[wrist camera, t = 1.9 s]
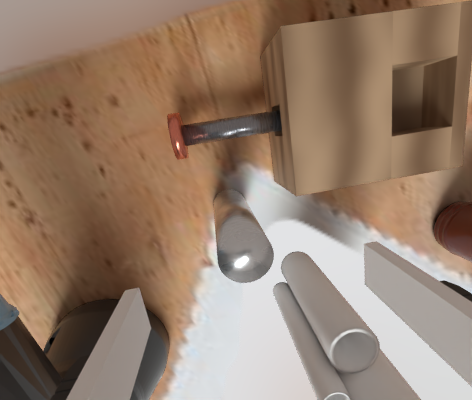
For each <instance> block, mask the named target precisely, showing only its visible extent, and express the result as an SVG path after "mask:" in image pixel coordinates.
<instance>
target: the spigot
mask: <svg viewBox="0 0 472 400" xmlns="http://www.w3.org/2000/svg"><path fill="white" fill-rule="evenodd" d="M213 207H214V219H215V231H216V243H217V256H218V264H219V267H220V270H221V271H222V273H223V274H224V275H225V276H226V277H228V278H229V279H231V280H233V281H236V282H241V283H247V282H252V281H255V280H257V279H259V278H261V277H262V276H263V275H265V274H266V273H267V272H268V270H269V269H270V267H271V265H272V262H273V257H274V253H273V248H272V246H271V244H270V242H269V240H268V239H267V237H266V235H265V233H264V232H263V230H262V228H261V226H260V225H259V223H258V221H257V220H256V218H255V216H254V214H253V213H252V211H251V209H250V207H249V206H248V204H247V202H246V201H245V199H244V197H243V196H242V194H241V193H239V192H238V191H236V190H233V189H227V190H223V191H221V192H220V193H219V194H218V195H217V196H216V197H215V199H214V204H213Z"/></svg>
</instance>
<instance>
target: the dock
mask: <svg viewBox="0 0 472 400" xmlns="http://www.w3.org/2000/svg"><path fill="white" fill-rule="evenodd" d="M260 60H261V68H262V77H263V86H264V94H265V103H266V112H271V111H277V110H280V115H281V125H282V131H276V132H269V138H270V147H271V155H272V164H273V173H274V181H275V182H276V183H278V184H279V185H281V186H282V187H284V188H285V189H287V190H288V191H290V192H291V193H292V194H294V195H295V196H301V195H306V194H312V193H317V192H323V191H328V190H334V189H339V188H345V187H350V186H356V185H362V184H367V183H373V182H378V181H384V180H389V179H395V178H400V177H406V176H412V175H417V174H423V173H428V172H434V171H439V170H445V169H450V168H456V167H461V166H462V165H463V153H464V142H465V130H466V119H467V107H468V96H469V84H470V73H471V61H472V1H465V2H458V3H450V4H443V5H435V6H428V7H420V8H413V9H405V10H398V11H390V12H383V13H375V14H368V15H360V16H353V17H345V18H338V19H330V20H323V21H315V22H308V23H300V24H293V25H285V26H280V28H279V29H278V31H277V32H276V34H275V35H274V37H273V38H272V40H271V41H270V43H269V44H268V46H267V47H266V49H265V50H264V52H263V53H262V55H261V56H260Z"/></svg>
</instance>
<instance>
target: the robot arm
mask: <svg viewBox="0 0 472 400" xmlns="http://www.w3.org/2000/svg"><path fill="white" fill-rule="evenodd" d="M364 261H365V285H366V286H367V287H368V288H369V289H370V290H371V291H372V292H373V293H374V294H376V295H377V296H378V297H379V298H380V299H381V300H382V301H383V302H384V303H385V304H386V305H387V306H388V307H389V308H390V309H391V310H392V311H393V312H394V313H395V314H396V315H397V316H399V317H400V318H401V319H402V320H403V321H404V322H405V323H406V324H407V325H408V326H409V327H410V328H411V329H412V330H413V331H414V332H415V333H416V334H417V335H418V336H419V337H420V338H422V340H423V341H425V342H426V343H427V344H428V345H429V346H430V347H431V348H432V349H433V350H434V351H435V352H436V353H437V354H438V355H439V356H440V357H441V358H442V359H443V360H444V361H446V363H448V364H449V365H450V366H451V367H452V368H453V369H454V370H455V371H456V372H457V373H458V374H459V375H460V376H461V377H462V378H463V379H464V380H465V381H466V382H467V383H468V384H470V386H472V294H471V293H470V292H468V291H466V290H465V289H463V288H461V287H460V286H458V285H455V284H452V283H450V282H447V281H438V280H436V279H435V278H433V277H432V276H430V275H429V274H427V273H425V272H424V271H422V270H421V269H419V268H418V267H416V266H414V265H413V264H411V263H410V262H408V261H407V260H405V259H403V258H402V257H400V256H399V255H397V254H396V253H394V252H392V251H391V250H389V249H388V248H386V247H384V246H383V245H381V244H380V243H378V242H377V241H376V242H371V243H366V244H364ZM18 315H19V311H18V310H17V308H16V307H14V306H13V305H11V304H8V302H7V301H6V300H5V299H4V298H3V296H2V295H1V294H0V400H149V399H150V397H151V395H152V393H153V392H154V390H155V388H156V386H157V384H158V382H159V381H160V379H161V377H162V376H163V373H164V371H165V368H166V364H167V359H168V353H169V338H168V334H167V332H166V329H165V327H164V326H163V324H162V323H161V321H160V320H159V319H158V318H157V317H156V316H155V315H154V314H153V313H151V312H150V311H149V310H147V309H145V306H144V302H143V299H142V295H141V292H140V289H139V288H134V289H129V290H125V292H124V293H123V295H122V297H121V299H120V300H114V299H108V300H98V301H93V302H90V303H87V304H84V305H82V306H79V307H78V308H76V309H74V310H73V311H71V312H70V313H69V314H68V315H66V316H65V317H64V318H63V320H62V321H61V322H60V323H59V325H58V326H57V327H56V328H55V330H54V331H53V332H52V334H51V335H50V337H49V339H48V341H47V343H46V345H45V348H44V351H42V349H41V348H40V346H39V345H38V344H37V342H36V341H35V339H34V338H33V337H32V335H31V334H30V332H29V331H28V330H27V328H26V327H25V325H24V324H23V323H22V321H21V320H20V318H19V317H18Z"/></svg>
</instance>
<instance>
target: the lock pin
mask: <svg viewBox="0 0 472 400" xmlns="http://www.w3.org/2000/svg"><path fill="white" fill-rule="evenodd" d="M167 119H168V128H169V134H170V138H171V143H172V147H173V150H174V153H175V156H176V158H177V159H178V160H179V159H185V158H188V147H187V146H189V145H195V144H201V143H208V142H214V141H220V140H226V139H232V138H239V137H245V136H251V135H257V134H263V133H269V132H276V131H282V125H281V115H280V110H277V111H271V112H264V113H258V114H252V115H245V116H239V117H232V118H226V119H220V120H213V121H207V122H200V123H194V124H188V125H183V123H182V119H181V116H180V114H179V113H173V114H168V116H167Z"/></svg>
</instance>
